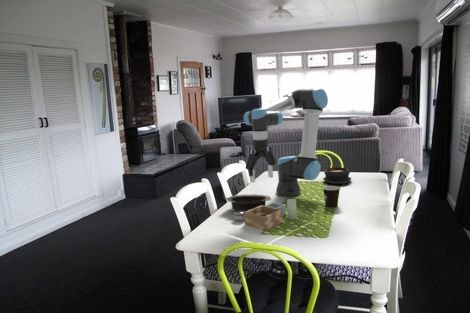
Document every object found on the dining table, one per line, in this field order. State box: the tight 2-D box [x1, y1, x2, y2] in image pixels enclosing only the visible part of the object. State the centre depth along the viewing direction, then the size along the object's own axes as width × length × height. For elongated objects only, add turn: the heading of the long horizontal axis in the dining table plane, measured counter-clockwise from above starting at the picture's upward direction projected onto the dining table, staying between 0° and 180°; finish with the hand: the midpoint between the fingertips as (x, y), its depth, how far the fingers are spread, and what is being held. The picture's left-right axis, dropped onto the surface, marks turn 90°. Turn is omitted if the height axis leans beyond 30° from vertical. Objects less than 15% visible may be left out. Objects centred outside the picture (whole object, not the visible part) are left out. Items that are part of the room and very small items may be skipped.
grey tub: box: [265, 201, 287, 217], centre depth 194 cm, size 8×8×6 cm
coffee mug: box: [322, 185, 340, 209], centre depth 207 cm, size 12×9×10 cm
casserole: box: [322, 167, 352, 185], centre depth 256 cm, size 25×19×8 cm
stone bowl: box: [225, 193, 272, 212], centre depth 207 cm, size 25×25×9 cm
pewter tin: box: [233, 210, 246, 223], centre depth 190 cm, size 6×6×5 cm
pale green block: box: [286, 198, 298, 220], centre depth 188 cm, size 4×4×10 cm
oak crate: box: [244, 205, 284, 231], centre depth 183 cm, size 13×13×7 cm
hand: (261, 179), depth 197 cm, fingers open, 13 cm apart
